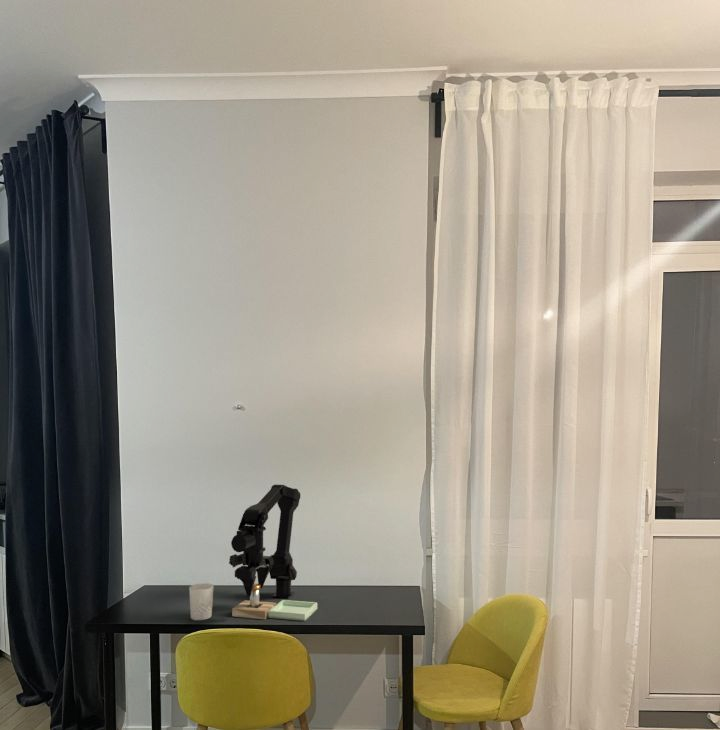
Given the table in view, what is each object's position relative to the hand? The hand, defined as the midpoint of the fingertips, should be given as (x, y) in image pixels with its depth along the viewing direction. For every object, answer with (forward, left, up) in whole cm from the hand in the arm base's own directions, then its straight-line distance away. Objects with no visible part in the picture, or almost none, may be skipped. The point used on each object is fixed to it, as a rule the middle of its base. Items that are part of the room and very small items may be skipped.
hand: (254, 592), depth 200 cm
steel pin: (0, 0, -7) cm, 7 cm away
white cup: (+8, -16, -7) cm, 19 cm away
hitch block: (0, 0, -7) cm, 7 cm away
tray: (-3, +13, -7) cm, 15 cm away
